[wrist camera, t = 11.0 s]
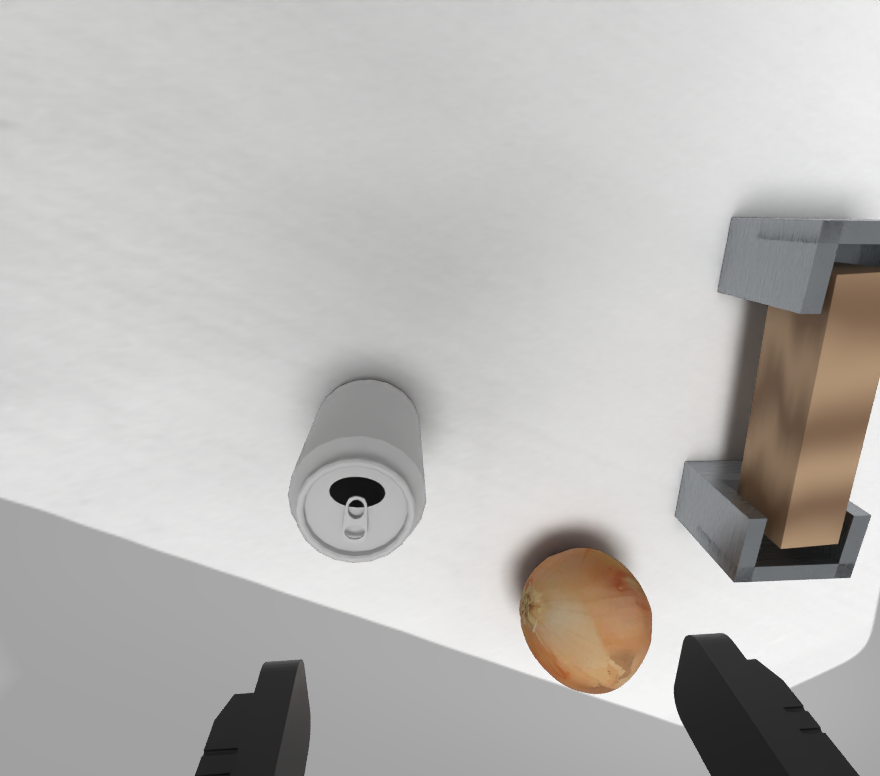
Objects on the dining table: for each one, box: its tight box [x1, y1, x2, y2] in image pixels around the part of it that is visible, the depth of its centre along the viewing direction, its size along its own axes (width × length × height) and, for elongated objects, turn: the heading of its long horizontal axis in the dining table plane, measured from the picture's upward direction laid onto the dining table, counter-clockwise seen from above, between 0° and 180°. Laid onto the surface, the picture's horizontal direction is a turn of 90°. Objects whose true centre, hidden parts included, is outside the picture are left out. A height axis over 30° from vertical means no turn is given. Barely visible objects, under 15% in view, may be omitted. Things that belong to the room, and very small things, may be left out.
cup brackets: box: [675, 217, 880, 582], centre depth 35 cm, size 23×8×8 cm, turn 179°
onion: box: [519, 548, 652, 694], centre depth 39 cm, size 10×10×10 cm
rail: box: [737, 262, 880, 549], centre depth 34 cm, size 18×4×5 cm, turn 3°
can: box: [288, 379, 426, 563], centre depth 32 cm, size 8×8×12 cm
